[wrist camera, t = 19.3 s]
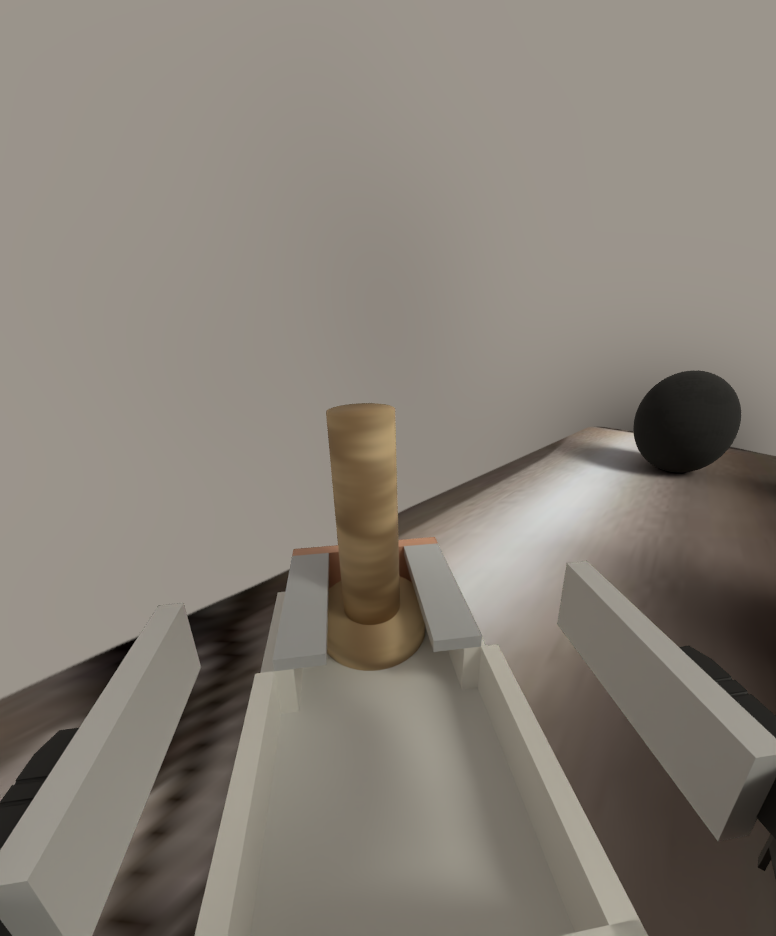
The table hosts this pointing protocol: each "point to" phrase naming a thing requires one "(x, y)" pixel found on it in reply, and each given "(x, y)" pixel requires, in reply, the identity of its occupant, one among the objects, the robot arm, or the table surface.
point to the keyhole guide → (400, 788)
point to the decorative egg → (687, 421)
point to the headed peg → (368, 544)
